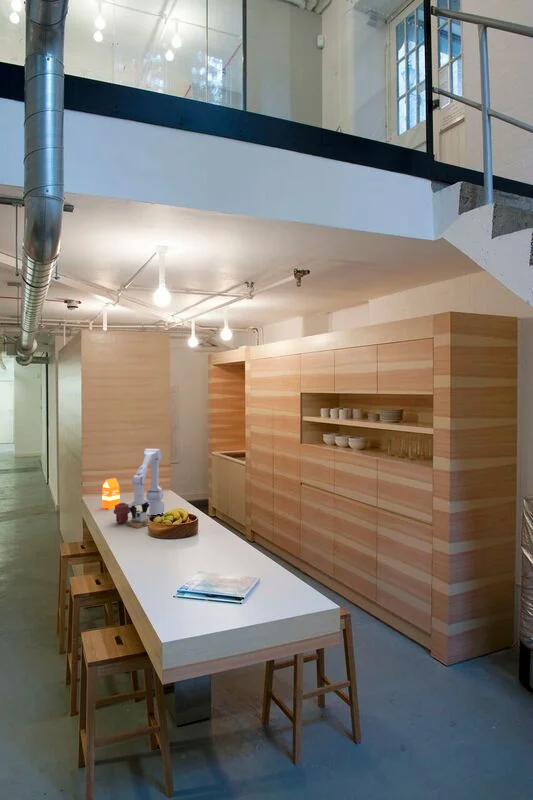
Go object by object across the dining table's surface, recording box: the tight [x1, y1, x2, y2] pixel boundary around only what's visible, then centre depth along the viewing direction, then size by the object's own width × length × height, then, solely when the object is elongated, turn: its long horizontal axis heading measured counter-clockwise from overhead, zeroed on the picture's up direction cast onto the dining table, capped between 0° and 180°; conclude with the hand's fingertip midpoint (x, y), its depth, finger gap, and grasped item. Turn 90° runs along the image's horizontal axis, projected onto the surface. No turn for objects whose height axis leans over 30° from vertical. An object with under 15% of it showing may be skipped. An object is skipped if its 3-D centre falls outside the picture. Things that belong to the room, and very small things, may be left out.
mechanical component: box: [113, 502, 131, 525], centre depth 324 cm, size 12×10×10 cm
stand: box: [125, 518, 149, 529], centre depth 320 cm, size 11×11×2 cm
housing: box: [131, 509, 147, 523], centre depth 320 cm, size 8×4×6 cm, turn 52°
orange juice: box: [101, 477, 121, 510], centre depth 364 cm, size 8×9×20 cm
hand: (139, 516), depth 320 cm, fingers open, 7 cm apart
